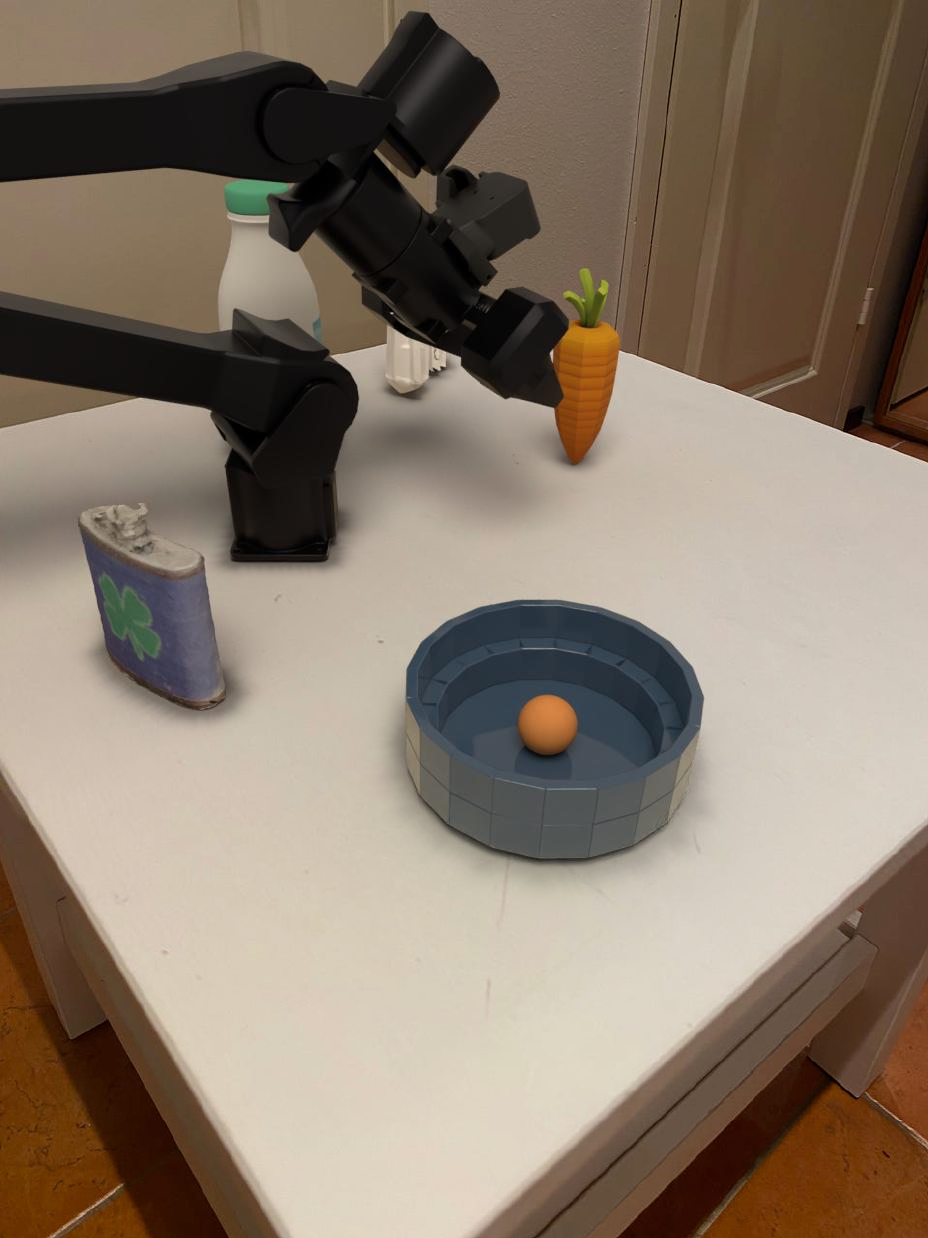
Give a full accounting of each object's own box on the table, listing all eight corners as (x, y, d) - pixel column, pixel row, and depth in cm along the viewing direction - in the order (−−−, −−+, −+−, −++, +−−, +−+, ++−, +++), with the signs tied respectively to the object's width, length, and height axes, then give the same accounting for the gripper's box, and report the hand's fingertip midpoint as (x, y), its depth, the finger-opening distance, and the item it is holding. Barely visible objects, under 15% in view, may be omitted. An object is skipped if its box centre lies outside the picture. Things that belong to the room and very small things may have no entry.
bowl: (404, 869, 42) (402, 790, 39) (409, 671, 53) (408, 599, 50) (717, 865, 42) (738, 787, 39) (654, 670, 54) (667, 598, 51)
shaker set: (421, 405, 85) (421, 280, 78) (377, 400, 85) (373, 276, 79) (452, 360, 94) (454, 245, 88) (412, 356, 95) (411, 242, 88)
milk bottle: (314, 470, 74) (292, 197, 62) (220, 461, 75) (182, 191, 63) (340, 430, 80) (324, 176, 68) (253, 423, 81) (224, 170, 69)
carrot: (602, 480, 73) (625, 285, 65) (540, 473, 74) (554, 279, 65) (608, 453, 77) (630, 266, 69) (548, 447, 78) (563, 261, 69)
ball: (519, 698, 49) (550, 673, 46) (563, 732, 49) (596, 709, 47) (498, 740, 47) (529, 716, 44) (545, 775, 47) (578, 753, 45)
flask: (236, 694, 51) (208, 524, 45) (193, 722, 49) (158, 548, 43) (135, 630, 56) (97, 468, 50) (91, 653, 54) (46, 488, 48)
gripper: (556, 154, 50) (678, 329, 61) (396, 109, 63) (521, 261, 74) (428, 320, 51) (570, 462, 62) (296, 243, 64) (434, 372, 75)
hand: (522, 380), depth 69 cm, fingers open, 9 cm apart
